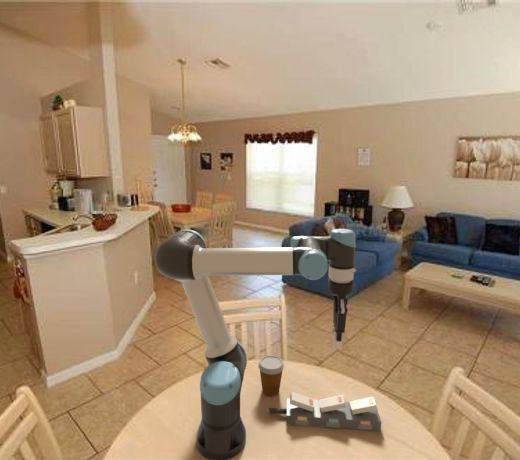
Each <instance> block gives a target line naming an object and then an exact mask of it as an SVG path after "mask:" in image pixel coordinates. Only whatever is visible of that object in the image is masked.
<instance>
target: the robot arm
mask: <svg viewBox="0 0 520 460" xmlns="http://www.w3.org/2000/svg"><path fill="white" fill-rule="evenodd" d="M356 247H357V245H356V233H355V231H353V229H352V230H351V229H349V228H334V229H332V230H331V231H330V233H329V235H328V236H325V235H324V236H322V235H321V236H319V235H317V236H316V235H298V236H297V235H296V236H292V237H291V238H290V247H289V246H288V247H286V246H285V247H284V246H283V247H282V246H281V247H276V246H275V247H220V248H219V247H217V248H216V247H215V248H213V247H212V248H208V247H207V243H206V241H205V238H204V237H203V235H201V234H200V233H199V232H198V231H195V230H192V229H181V230H179V231H177V232H176V231H175V232H174V233H173V234H171V236H169V237H168V238H166V239H165V240H163V241H162V242H161V243H160V244H158V246H157V247H156V249H155V251H154V258H153V259H154V261H153V262H154V265H155V267H156V269H157V271H158V272H159V273H160V274H161V275H163V276H164V277H166V278H167V279H168V278H169V279H172V280H175V281H178V282H180V283H181V285H182V288H183V289H184V292H185V295H186V298H187V300H188V303H189V305H190V307H191V310H192V313H193V315H194V316H193V317H194V319H195V320H196V324H197V326H198V328H199V331H200V333H201V335H202V339H203V341H204V344H205V349H204V352H203V353H204V354H203V355H204V357H205V359H206V362H207V365H208V366H206V367H205V368H204V369H203V371H202V372H201V377H200V381H199V391H200V409H201V421H200V424H199V426H198V429H197V432H196V448H197V450H198V452H199V453H200V454H201V455H202V456H203V457H205V458H207V459H208V460H229V459H232V458H234V457H236V456H238V454H240V453H241V452H242V450H243V449H244V447H245V445H246V444H247V432H246V427H245V425H244V422H243V419H242V417H241V392H242V387H243V381H244V378H245V377H244V376H245V371H246V369H247V365H248V363H247V361H248V360H247V359H248V357H247V352H246V349H245V347H244V346H243V345H242V344H241V343H240V342H239V341H238V338H237V337H235V336H232V335H231V333H230V330H229V327H228V325H227V322H226V319H225V317H224V314H223V311H222V308H221V306H220V304H219V301H218V299H217V295H216V292H215V290H214V286H213V285H212V282H211V279H210V277H212V276H213V277H217V276H218V277H219V276H222V277H223V276H225V277H226V276H231V277H234V276H235V277H237V276H243V277H244V276H302V277H303V278H305V279H306V280H310V281H317V280H319V279H321V278H323V277H324V276H325V275H326V274H327V271H328V283H327V284H328V285H327V286H328V287H327V289H328V291H329V292H330V293H331V294H332V299H333V300H332V301H333V305H332V306H333V307H332V308H333V309H332V311H333V312H332V313H333V315H332V316H333V318H332V319H333V320H332V323H333V328H332V332H333V344H332V346H333V347H332V348H333V350H343V342H344V334H345V332H346V321H347V314H348V310H349V309H348V308H347V305H348V298H347V296H348V295H350V294H352V293H353V291H354V275H355V274H354V273H356V272H357V270H356V268H355V260H356V259H355V258H356V257H355V256H356ZM328 263H329V264H328Z"/></svg>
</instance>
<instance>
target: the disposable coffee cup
mask: <svg viewBox="0 0 520 460" xmlns="http://www.w3.org/2000/svg"><path fill="white" fill-rule="evenodd" d="M257 365H258V369H259V375H260V382H261V387H262V388H261V392H262V394H264V396H266V397H275V396H277V395H278V394H279V393H280V388H281V382H282V375H283V371H284V368H285V363H284V361H283V359H282V358H281V357H280V356H277V355H265V356H263V357H261V358H260V360H259V362H258V364H257Z"/></svg>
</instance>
